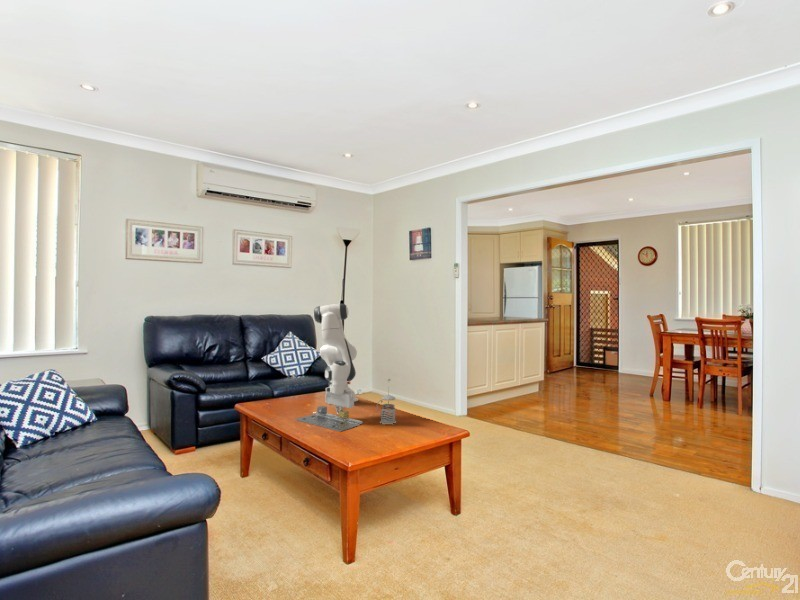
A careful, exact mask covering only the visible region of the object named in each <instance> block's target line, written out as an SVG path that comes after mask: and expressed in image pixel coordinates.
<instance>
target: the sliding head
mask: <svg viewBox="0 0 800 600" xmlns="http://www.w3.org/2000/svg"><path fill="white" fill-rule="evenodd" d="M338 416H339V417H336V418H335V419H338V418H343V419H344V418H350V411H349V410H347V409H346V410H345V409H343V410H342V411H339V414H338Z"/></svg>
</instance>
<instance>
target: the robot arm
mask: <svg viewBox="0 0 800 600" xmlns="http://www.w3.org/2000/svg"><path fill="white" fill-rule="evenodd" d="M312 315H313V319H314V320H315V321H314V322H316V323H319V324H320V325H321V327H320V328H321V338H322V340H323V342H324V343H326V344H323V345H322V346H321V347H320V349H319V355H320V356H319V357H320V358H321V359H322V360H323V361H324V362H325V363H326V365H327V366H326V367H325V370H324V379H325V380H326V381H328V387H325V394H324V395H325V396H324V401H325V404H328V405H332V406H334V408H335V410H336V414H338V415H339V411H342V410H344V408H347V409H353V408H354V406H355V403H356V402H358V401H359V397H358V398H357V397H356V394H355V391H354V390H353V389H351V388H350V386H349V385H351V382H352V380H353V379H355V377H356V374H357V372H356V368H355V365H354V363H353V361H354V360H355V359H356V358H357V355H358V354H357V353H358V351H357V349H356V347H355V346H354V345H352V344H351V343H350V342H349V340H348V339H347V337H346V336H345V332H344V325H343V321H345V320H347V318H348V316H349V308H348V307H347V305H346V304H345V303H335V304H334V303H330V304H324V305H322V306H320V305H319V306H316V307H315V308H314V309H313V312H312Z"/></svg>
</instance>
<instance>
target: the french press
mask: <svg viewBox="0 0 800 600" xmlns="http://www.w3.org/2000/svg"><path fill="white" fill-rule="evenodd" d="M386 381H387V382H390V381H391V378H390V377H389V378H387V379H386ZM387 389H388V393H387V395H384V396H382V397H381V399H380V400H379V401H378V402H377V404H376V411H377V412H378V414H381V415H380V421H379V423H380V424H381V423H382V424H381V425H385V424H392V425H394V424H393V423H396V422H397V421H396V407H395V406H396V405H395V404H393V403H390V401H395V400H396V399H397V398H396V397H395V396H393V395H390V387H388V388H387ZM383 401H388V402H387V403H384V404H382V403H383ZM380 402H381V404H382V406H381V411H380V410H379V403H380ZM396 424H397V423H396Z"/></svg>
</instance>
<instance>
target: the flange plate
mask: <svg viewBox="0 0 800 600" xmlns="http://www.w3.org/2000/svg"><path fill="white" fill-rule="evenodd" d="M295 421H299V422H301V423H306V424H310V425H314V426H318V427H321V428H325V429H330V430H332V431H337V432H340V433H341V432H344V431H346V430H351V429H353V427H354V428H357V427H359V426H360V425H357V424H353V423H349V422H344V421H340V420H336V419H332V418H328V417H323V416H319V415H317V414H313V413H312V414H309V415H305V416H301V417H298V418H297V417H296V418H295ZM356 426H357V427H356Z"/></svg>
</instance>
